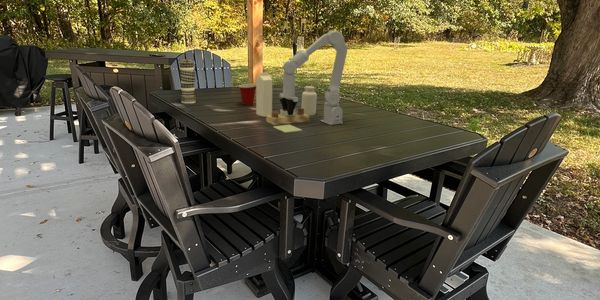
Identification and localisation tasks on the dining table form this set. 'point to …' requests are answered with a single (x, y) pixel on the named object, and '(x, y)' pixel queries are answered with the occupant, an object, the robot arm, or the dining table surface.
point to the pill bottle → (309, 100)
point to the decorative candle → (187, 81)
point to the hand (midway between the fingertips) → (288, 113)
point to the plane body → (287, 118)
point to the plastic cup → (247, 93)
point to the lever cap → (286, 113)
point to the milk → (264, 95)
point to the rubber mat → (287, 128)
